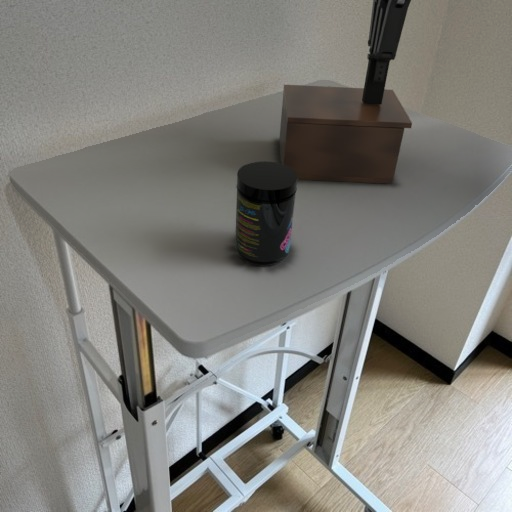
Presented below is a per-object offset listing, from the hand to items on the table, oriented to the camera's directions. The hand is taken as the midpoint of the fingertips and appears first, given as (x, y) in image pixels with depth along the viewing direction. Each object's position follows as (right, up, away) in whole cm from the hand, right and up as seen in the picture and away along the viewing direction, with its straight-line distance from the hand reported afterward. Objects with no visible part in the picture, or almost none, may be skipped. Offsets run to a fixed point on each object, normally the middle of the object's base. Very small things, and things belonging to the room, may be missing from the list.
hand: (371, 102), depth 82 cm
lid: (-4, -1, +1) cm, 4 cm away
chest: (-5, -8, +6) cm, 11 cm away
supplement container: (-17, -23, -15) cm, 32 cm away
